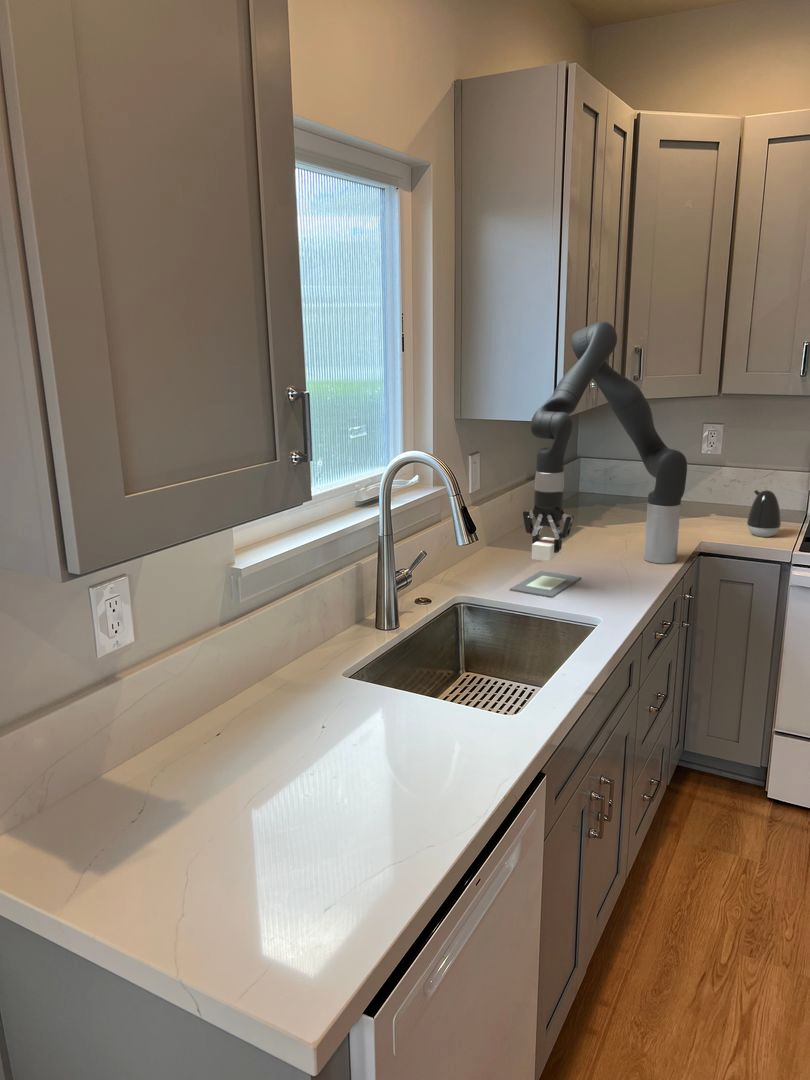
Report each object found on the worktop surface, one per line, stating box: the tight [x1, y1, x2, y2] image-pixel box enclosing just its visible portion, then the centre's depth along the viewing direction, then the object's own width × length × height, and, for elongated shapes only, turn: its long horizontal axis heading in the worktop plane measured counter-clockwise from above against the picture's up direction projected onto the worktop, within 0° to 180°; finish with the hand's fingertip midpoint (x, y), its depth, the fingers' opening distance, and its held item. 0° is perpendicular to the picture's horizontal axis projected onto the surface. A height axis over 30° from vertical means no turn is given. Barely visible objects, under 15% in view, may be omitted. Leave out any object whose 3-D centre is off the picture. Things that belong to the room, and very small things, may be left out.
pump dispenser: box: [746, 489, 782, 538], centre depth 263 cm, size 10×10×15 cm
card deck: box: [531, 536, 562, 562], centre depth 213 cm, size 5×9×4 cm, turn 150°
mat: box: [509, 570, 582, 598], centre depth 215 cm, size 20×12×1 cm, turn 147°
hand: (546, 550), depth 213 cm, fingers closed on card deck, 5 cm apart
